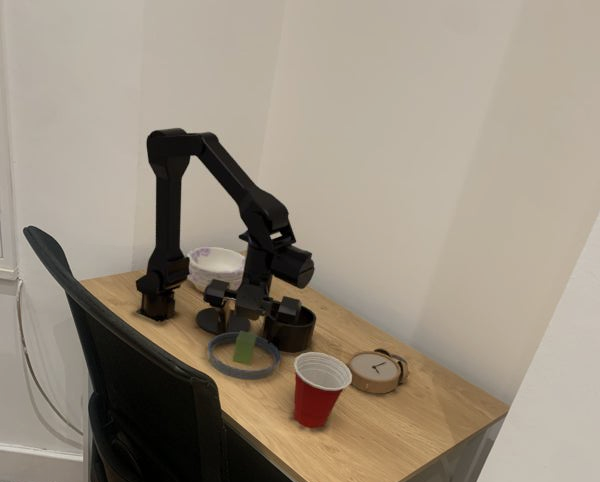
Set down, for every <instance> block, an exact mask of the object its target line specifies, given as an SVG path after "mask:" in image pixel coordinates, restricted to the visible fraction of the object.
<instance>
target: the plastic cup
mask: <svg viewBox="0 0 600 482" xmlns="http://www.w3.org/2000/svg"><path fill="white" fill-rule="evenodd" d="M293 368H294V375H295V378H294V381H295V382H294V401H293V404H294V409H293V410H294V412H293V416H294V419H295V421H296V422H297V423H298V424H300V425H301V426H303V427H306V428H309V429H317V428H320V427H322V426H324V425H325V424H326V423H327V419H328V418H329V416H330V414H331V413H332V411H333V410H334V407H335V405H336V404H337V402H338V399H339V398H340V396H341V394H342V393H343V391H344V390H345V389H346V388H347V387H348V386H349V385H350V384H352V383H351V381H352V374H351V372H350V370H349V368H348V365H346V364H345V363H344V362H343V361H341V360H340V359H338V358H336V357H334V356H333V355H330V354H326V353H323V352H318V351H317V352H314V351H309V352H304V353H301V354H300V355H298V356H297V357H295V359H294V363H293Z"/></svg>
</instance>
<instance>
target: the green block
mask: <svg viewBox="0 0 600 482" xmlns="http://www.w3.org/2000/svg"><path fill="white" fill-rule="evenodd" d="M257 336H258V334H256V333H252V332H249V331H248V332H244V331H240V333H239V335H238V337H237V340H236V342H235V346H234V351H233V352H234V353H233V359H232V362H234V363H238V364H242V365H247V366H251V364H252V361H253V359H254V355H255V349H256V339H257Z"/></svg>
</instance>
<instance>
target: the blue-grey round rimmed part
mask: <svg viewBox="0 0 600 482" xmlns="http://www.w3.org/2000/svg"><path fill="white" fill-rule="evenodd" d="M239 333H240V332H230V333H223V334H220V335H215V336H214V337H213V338H211V339H210V341H209V342H208V344H207V349H206V358H207V359H206V360H207V361H208V363H209V364H210V365H211V367H212V368H213V369H215V370H216V371H217V372H219V373H221V374H223V375H225V376H227V377H230V378H235V379H238V380H246V381H257V380H263V379H267V378H269V377H271V376H273V375H274V374H275V373H276V372H277V371H278V369H279V368H280V363H281V359H282V358H281V351H279V350H278V349H277V348H276V347H275V346H274V345H273V344H272V343H271V342H270V344H267V343H268V340H266V339H264V338H261V336H259V335H257V339H256V345H255V347H258V348H261V349H263V351H265V352H267V353H268V354H269V355H270V356H271V357H272V359H273V361H274V363H273V365H271V366H269V367H267V368H264V369H255V370H251V369H250V370H249V369H242V368H241V369H240V368H236V367H232V366H230V365H228V364H225V363H223V362H222V361H220V360H219V359H218V358H217V357H216V356H215V355H214V354H213V351H214V349H216V348H217V347H218V346H221V345H224V344H227V343H228V344H229V343H236V340H237V337H238V335H239Z"/></svg>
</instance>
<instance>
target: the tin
mask: <svg viewBox="0 0 600 482" xmlns="http://www.w3.org/2000/svg"><path fill="white" fill-rule="evenodd" d="M277 314H278V311H274V310H271V313H270V315H269V316H267V315H264V317H263V321H262V327H261V332H260V337H261V338H264V339H266V340H268V338H269V335H270V332H271V330H272V327H273V324H274V322H275V319H276V316H277ZM316 323H317V316H316V313H315V312H313V311H312V310H311V309H310V308H308V307H306V306H304V305H303V304H302V305H301V309H300V313H299V317H298V320H297V323H295V324H292V323H290V324H289V325H283V326H281V328H280V329H279V330H278V331H277V333H276V334H275V336H274V337H273V339H272V341H271V343H272V344H273V345H274V346H275V347H276V348H277V349H278V351H279V352H283V353H289V354H292V353H293V354H297V353H302V352H305V351H307V350H308V349H309V348H310V347H311V343H312V339H313V335H314V332H315V328H316Z"/></svg>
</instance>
